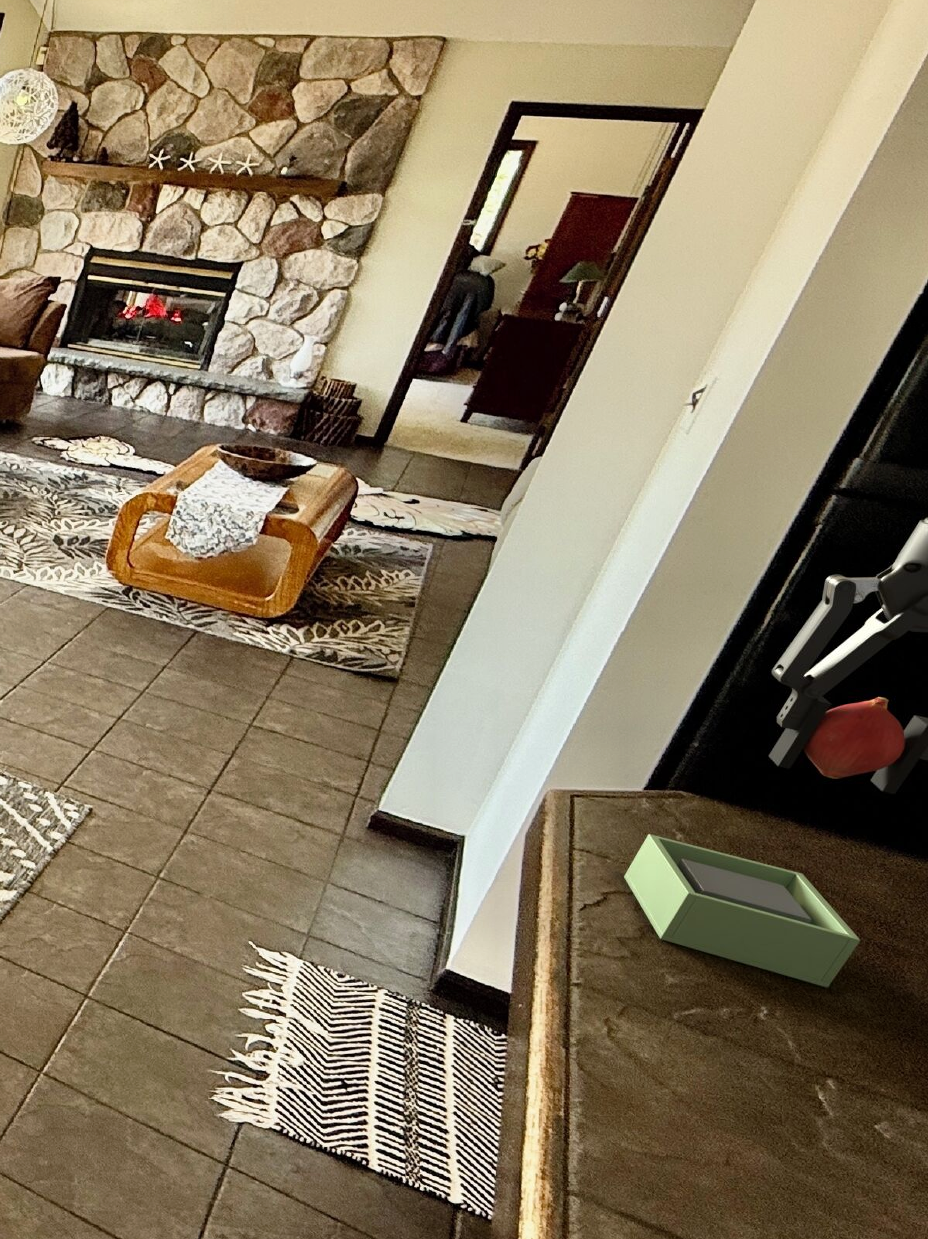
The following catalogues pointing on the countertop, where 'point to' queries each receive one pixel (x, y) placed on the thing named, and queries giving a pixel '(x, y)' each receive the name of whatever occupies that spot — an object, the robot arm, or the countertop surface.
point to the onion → (856, 739)
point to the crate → (739, 914)
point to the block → (742, 890)
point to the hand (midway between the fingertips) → (830, 774)
